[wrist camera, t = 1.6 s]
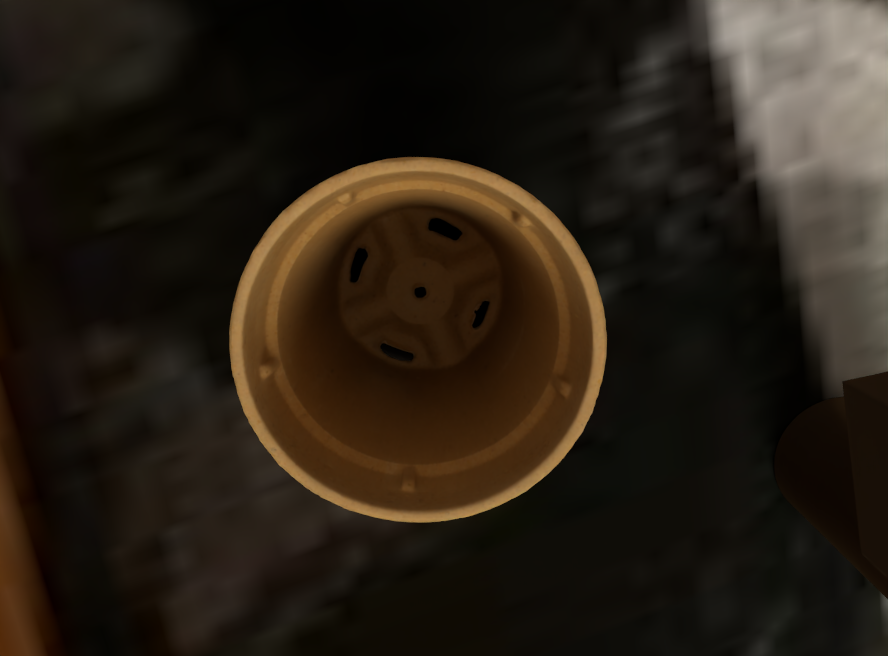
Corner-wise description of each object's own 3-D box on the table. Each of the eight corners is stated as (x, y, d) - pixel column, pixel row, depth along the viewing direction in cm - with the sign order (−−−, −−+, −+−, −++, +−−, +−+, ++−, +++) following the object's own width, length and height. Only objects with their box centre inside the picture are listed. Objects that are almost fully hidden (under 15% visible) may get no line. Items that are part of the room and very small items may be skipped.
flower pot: (553, 149, 26) (611, 149, 18) (553, 407, 28) (605, 517, 20) (281, 159, 26) (209, 164, 18) (302, 417, 28) (247, 531, 20)
